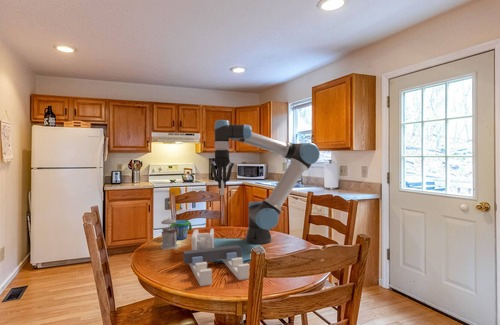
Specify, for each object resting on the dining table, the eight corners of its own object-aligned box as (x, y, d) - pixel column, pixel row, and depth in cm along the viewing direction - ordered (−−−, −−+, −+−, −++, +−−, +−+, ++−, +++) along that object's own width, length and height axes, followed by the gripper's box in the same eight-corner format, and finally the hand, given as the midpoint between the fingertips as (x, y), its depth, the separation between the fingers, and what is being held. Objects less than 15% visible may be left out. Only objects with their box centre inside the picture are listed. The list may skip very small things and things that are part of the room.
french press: (171, 243, 171) (170, 199, 171) (184, 247, 164) (183, 201, 163) (156, 247, 163) (155, 201, 163) (168, 251, 156) (168, 203, 156)
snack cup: (186, 234, 191) (186, 218, 190) (196, 237, 183) (196, 221, 183) (164, 239, 180) (164, 222, 180) (173, 242, 172) (173, 225, 172)
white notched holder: (230, 258, 145) (230, 247, 145) (249, 278, 120) (249, 264, 120) (188, 263, 137) (188, 251, 137) (200, 286, 113) (200, 271, 113)
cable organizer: (212, 258, 144) (212, 234, 144) (190, 259, 144) (190, 235, 143) (214, 249, 159) (214, 227, 159) (194, 250, 158) (193, 228, 158)
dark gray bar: (238, 254, 143) (238, 245, 143) (241, 256, 139) (241, 247, 139) (183, 261, 134) (183, 251, 133) (184, 264, 130) (184, 253, 130)
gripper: (231, 150, 163) (231, 193, 163) (208, 149, 158) (208, 194, 158) (235, 149, 156) (236, 194, 156) (211, 149, 151) (211, 196, 151)
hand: (222, 194), depth 157 cm, fingers closed
